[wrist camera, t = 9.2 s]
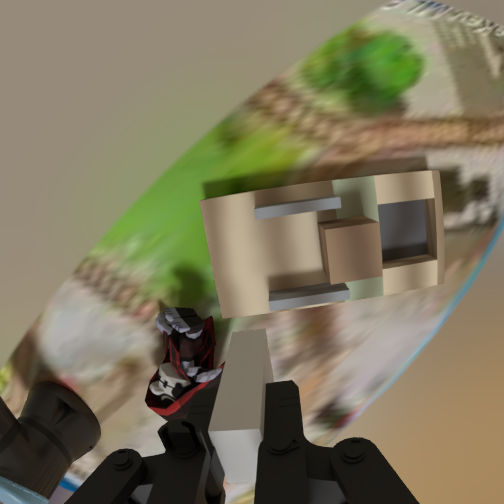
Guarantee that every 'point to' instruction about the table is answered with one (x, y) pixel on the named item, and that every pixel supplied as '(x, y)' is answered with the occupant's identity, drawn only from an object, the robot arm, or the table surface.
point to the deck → (308, 245)
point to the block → (350, 249)
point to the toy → (183, 363)
